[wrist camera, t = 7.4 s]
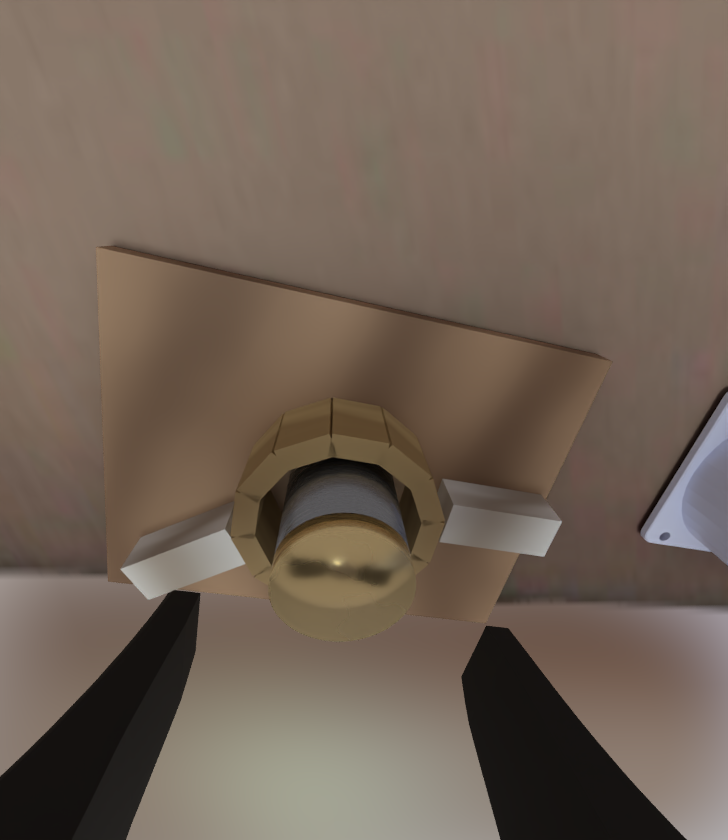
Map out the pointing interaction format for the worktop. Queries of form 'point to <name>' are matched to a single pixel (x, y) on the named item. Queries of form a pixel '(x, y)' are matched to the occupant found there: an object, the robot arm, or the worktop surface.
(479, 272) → the worktop surface
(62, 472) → the worktop surface
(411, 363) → the shaft board
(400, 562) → the cylinder
